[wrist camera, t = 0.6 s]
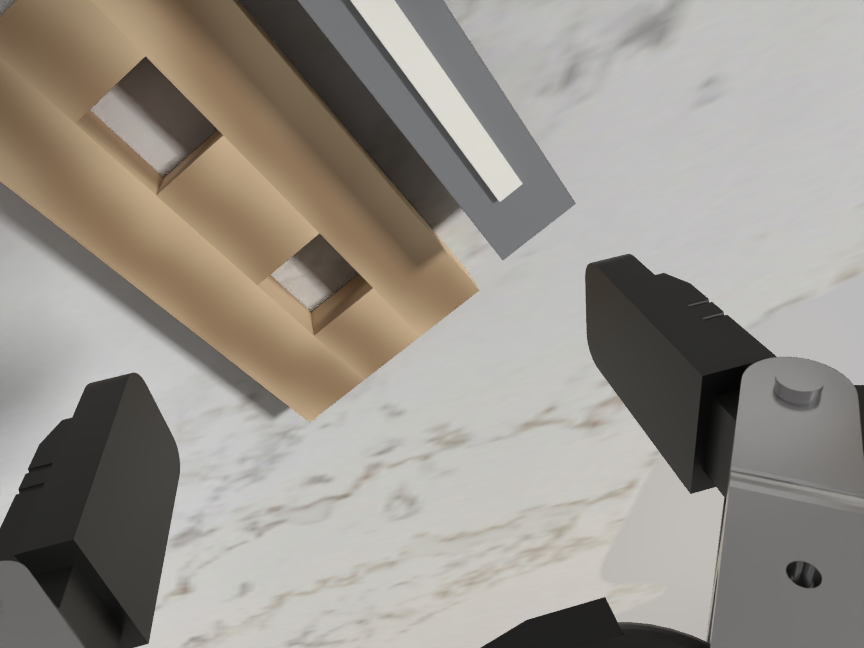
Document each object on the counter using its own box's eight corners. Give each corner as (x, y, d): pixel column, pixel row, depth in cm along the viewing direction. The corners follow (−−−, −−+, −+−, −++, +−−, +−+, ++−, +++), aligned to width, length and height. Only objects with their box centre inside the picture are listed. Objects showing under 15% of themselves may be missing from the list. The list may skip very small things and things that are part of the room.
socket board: (143, -113, 24) (132, -118, 22) (466, 270, 36) (479, 290, 34) (-63, 96, 26) (-92, 109, 24) (306, 395, 38) (309, 422, 35)
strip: (315, -148, 25) (330, -175, 19) (524, 161, 33) (578, 205, 27) (241, -75, 25) (233, -81, 20) (464, 209, 34) (504, 262, 28)
